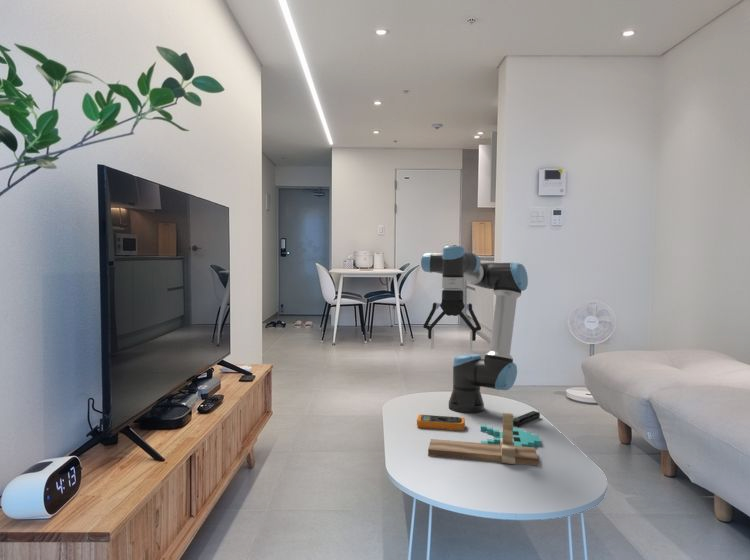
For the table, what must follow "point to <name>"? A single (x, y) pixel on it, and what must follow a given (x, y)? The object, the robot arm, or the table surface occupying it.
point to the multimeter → (440, 422)
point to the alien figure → (518, 437)
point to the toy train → (525, 418)
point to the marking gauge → (507, 440)
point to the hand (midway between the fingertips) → (451, 349)
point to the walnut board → (479, 451)
